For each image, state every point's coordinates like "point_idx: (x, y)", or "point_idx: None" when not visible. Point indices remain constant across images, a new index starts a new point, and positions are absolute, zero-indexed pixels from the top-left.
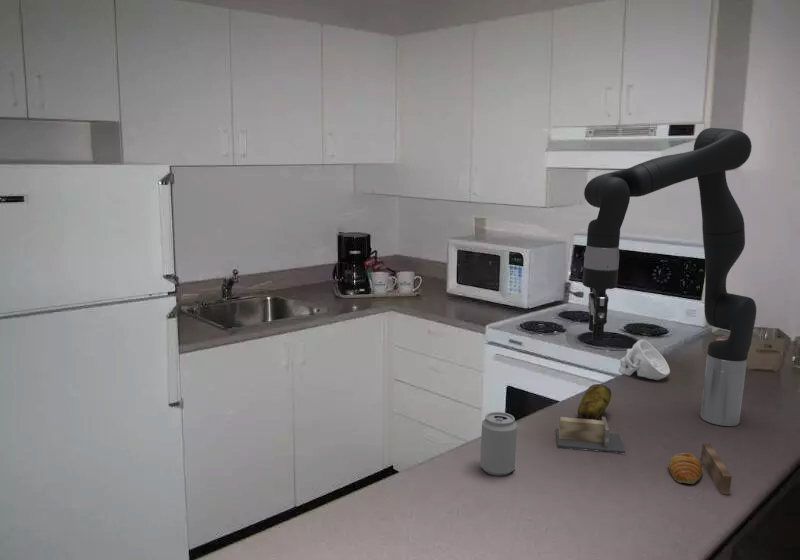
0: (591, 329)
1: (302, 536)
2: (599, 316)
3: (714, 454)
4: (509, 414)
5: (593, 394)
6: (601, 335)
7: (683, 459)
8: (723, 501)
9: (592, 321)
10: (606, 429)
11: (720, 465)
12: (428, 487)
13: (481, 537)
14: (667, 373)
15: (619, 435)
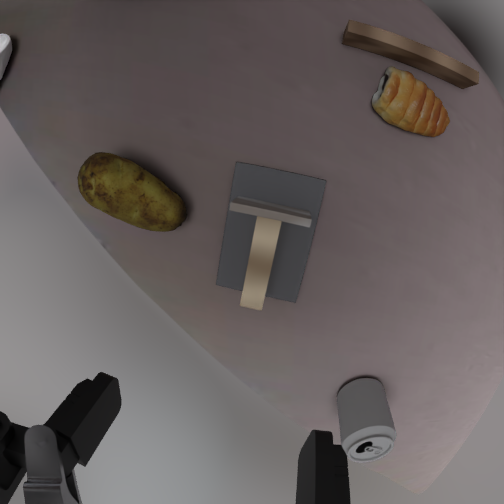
0: (117, 404)
1: (420, 481)
2: (72, 437)
3: (402, 40)
4: (362, 442)
5: (123, 202)
6: (346, 462)
7: (416, 105)
8: (479, 101)
9: (97, 435)
10: (308, 225)
11: (445, 61)
12: None
13: (474, 403)
14: (7, 36)
15: (245, 164)
